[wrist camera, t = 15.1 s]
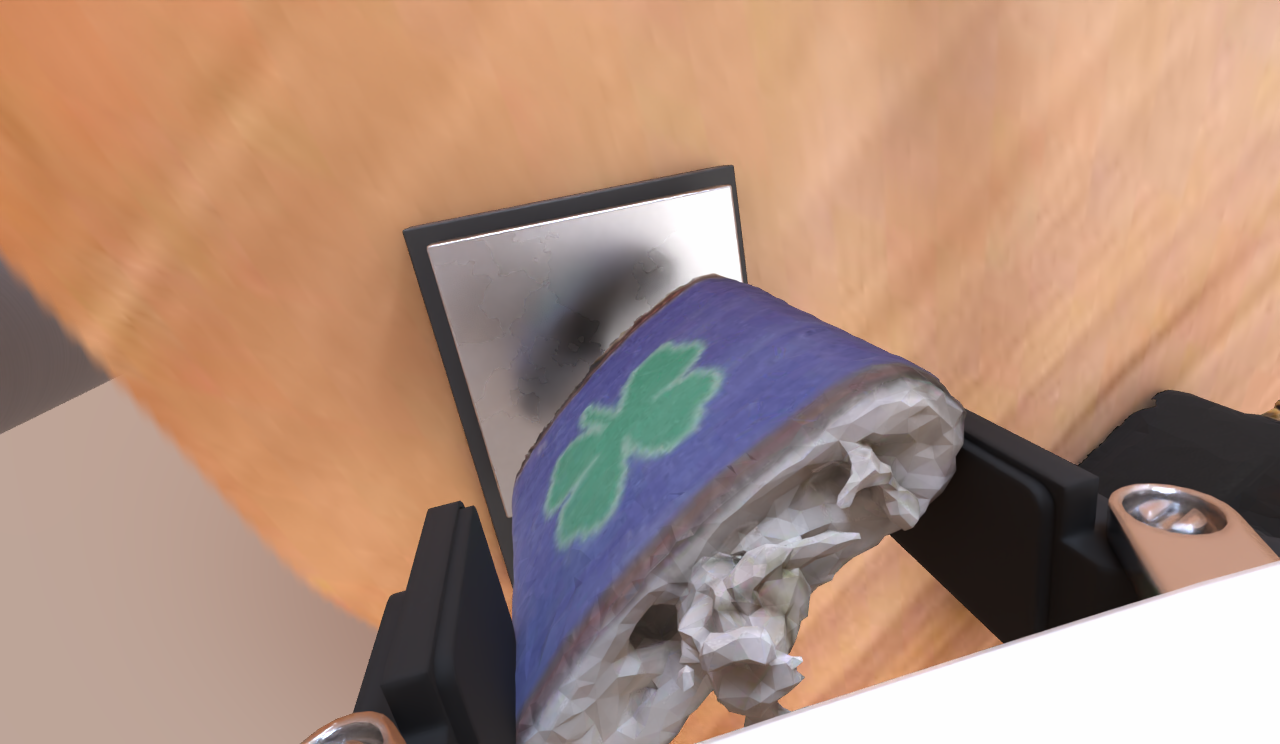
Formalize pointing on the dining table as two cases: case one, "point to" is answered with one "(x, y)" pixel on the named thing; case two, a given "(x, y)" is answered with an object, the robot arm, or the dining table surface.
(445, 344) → the scale
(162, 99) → the dining table surface
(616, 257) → the pan
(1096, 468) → the film camera
